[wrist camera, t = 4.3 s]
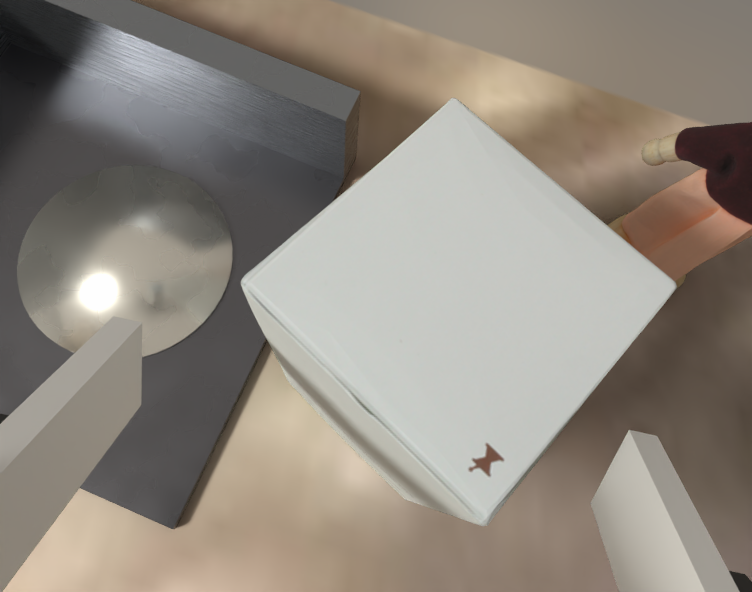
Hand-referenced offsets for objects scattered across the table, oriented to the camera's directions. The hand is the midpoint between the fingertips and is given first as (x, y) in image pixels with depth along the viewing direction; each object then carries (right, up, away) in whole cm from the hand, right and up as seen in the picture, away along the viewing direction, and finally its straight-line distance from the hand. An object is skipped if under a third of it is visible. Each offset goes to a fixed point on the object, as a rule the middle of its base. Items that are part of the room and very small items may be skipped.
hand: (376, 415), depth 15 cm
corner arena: (-13, +6, +10) cm, 17 cm away
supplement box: (+1, 0, +9) cm, 10 cm away
